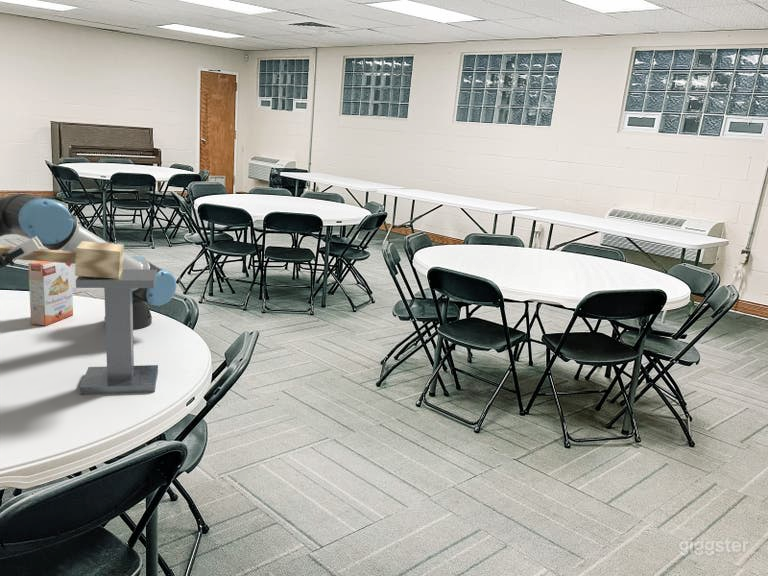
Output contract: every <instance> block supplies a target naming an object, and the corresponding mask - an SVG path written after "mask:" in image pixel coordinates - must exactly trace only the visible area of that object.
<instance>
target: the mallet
mask: <svg viewBox="0 0 768 576" xmlns="http://www.w3.org/2000/svg"><path fill="white" fill-rule="evenodd" d="M10 246H11V245H10ZM10 246H9V245H0V256H1V255H3V253H7V254H9V253H8V252H7V251H9V250H11V249H13V248H15V246H11V247H10ZM124 253H125V244H119V243H109V242H108V243H99V242H87V241H82V242H81V243H80V244H79V245H78V246H77V247H76V252H72V251H63V250H50V249H48V248H46V249H45V248H39V249H37V250H35V251H33V252H31V253H29V254H27V255H25V256H23V257H21V258H19V259H18V260H22V261H32V262H35V261H46V262H59V263H72V265H73V264H74V266H75V268H74V269H75V270H74V276H75V277H78V276H86V277H100V278H114V279H119V277H120V275H121V273H122V271H123V257H124Z"/></svg>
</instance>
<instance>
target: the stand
mask: <svg viewBox="0 0 768 576" xmlns="http://www.w3.org/2000/svg"><path fill="white" fill-rule="evenodd" d="M156 278H157V270H141V269H123V271H122V273H121V275H120V277H119V279H114V278H100V277H86V276H77V277H76V279H75V288H76V289H82V288H83V289H104V314H105V316H104V318H105V321H104V325H105V324H106V326H105V348H106V351H105V352H106V354H105V355H106V366H89V367H88V368H87V369H86V372H85V374H84V376H83V379H82V381H81V384H80V385H79V395H80V396H83V395H106V394H107V395H108V394H112V395H113V394H133V393H138V394H139V393H154V392H156V386H157V380H158V375H159V374H158V373H159V365H158V364H153V365H152V364H151V365H150V364H149V365H148V364H147V365H135V362H134V361H135V357H134V356H135V355H134V329H133V301H132V288H154V286H155V282H156Z"/></svg>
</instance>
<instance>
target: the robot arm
mask: <svg viewBox="0 0 768 576" xmlns="http://www.w3.org/2000/svg"><path fill="white" fill-rule="evenodd" d="M9 235H18V236H20V237H22V238H23V237H24V238H26V239H27V240H26V241H24V242H22V243H19V244H17V245H16V246H14V247H15V248H13V249H11V250H9V251H7V252H8V253H9V254H7V253H3V255H1V256H0V269H1V268H4V267H7V266H8V264H9V265H10V266H13V265H15V261H18V260H20V259H19V258H21V257H23V256H25V255H27V254H29V253H31V252H33V251H35V250H37V249H41V248H42V247H44V248H46V249H47V250H59V251H72V252H76V247H77V246H78V245H79V244H80V243H81V242H82V241H87V242H99V243H109V242H108V241H106V240H105V239H103V238H101V237H100V236H98V235H97V234H94V233H93V232H91V231H90V230H88V229H87V228H85V227H83V226H82V225H80V224H79V220H78V217H77V216H76V215H74V214H72V213H71V212H70V211H69V209H68V208H67V207H65V205H64V204H62V203H60V202H58V201H57V200H53V199H52V198H51V199H50V198H46V197H40V196H35V195H31V194H27V193H15V194H10V195H7V196H4V197H0V237H4V236H9ZM10 247H12V245H10ZM123 269H141V270H157V278H156V282H155V286H154V288H132V301H133V330H137V329H138V330H139V329H143V328H145V327H149V326H150V325H151V324H152V323H153V320H152V319H153V317H152V316H153V315H152V313H151V310H150V308H149V305H148V304H150V305H152V306H163V305H165V304H167V303H169V302H170V301H171V300H172V298H173V297H174V295H175V294H176V290H177V279H176V277H175V275H174V274H173V273H172V272H170V271H169V270H167V269H161V268H160V267H159V266H156V265H154V264H153V263H151V262H150V261H148V260H147V259H146V258H145V257H144V256H131V255H129V254H128V253H126V252H124V257H123ZM104 322H105V317H104ZM104 326H105V327H106V324H105V323H104Z"/></svg>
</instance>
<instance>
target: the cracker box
mask: <svg viewBox="0 0 768 576" xmlns="http://www.w3.org/2000/svg"><path fill="white" fill-rule="evenodd" d="M27 265H28V267H27V268H28V285H29V287H28V289H29V305H30V306H29V307H30V324H31V325H38V326H43V327H46V326H48V325H52V324H54V323H57V322H59V321H61V320H65V319H67V318H69V317H73V316H74V304H73V300H74V299H73V298H74V297H73V264H72V263H59V262H46V261H32V262H28V264H27Z"/></svg>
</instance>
